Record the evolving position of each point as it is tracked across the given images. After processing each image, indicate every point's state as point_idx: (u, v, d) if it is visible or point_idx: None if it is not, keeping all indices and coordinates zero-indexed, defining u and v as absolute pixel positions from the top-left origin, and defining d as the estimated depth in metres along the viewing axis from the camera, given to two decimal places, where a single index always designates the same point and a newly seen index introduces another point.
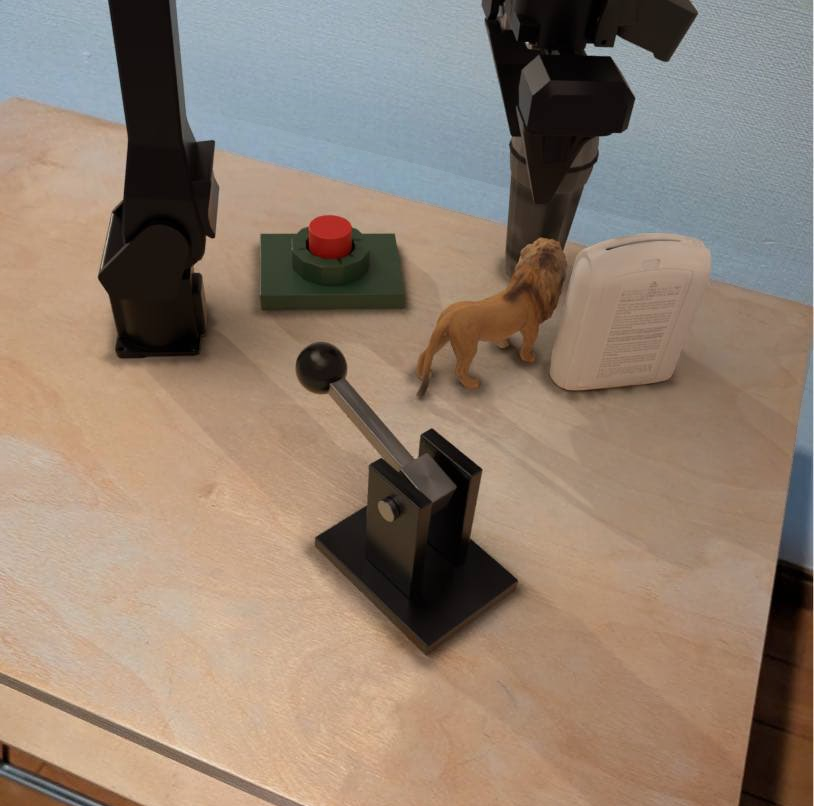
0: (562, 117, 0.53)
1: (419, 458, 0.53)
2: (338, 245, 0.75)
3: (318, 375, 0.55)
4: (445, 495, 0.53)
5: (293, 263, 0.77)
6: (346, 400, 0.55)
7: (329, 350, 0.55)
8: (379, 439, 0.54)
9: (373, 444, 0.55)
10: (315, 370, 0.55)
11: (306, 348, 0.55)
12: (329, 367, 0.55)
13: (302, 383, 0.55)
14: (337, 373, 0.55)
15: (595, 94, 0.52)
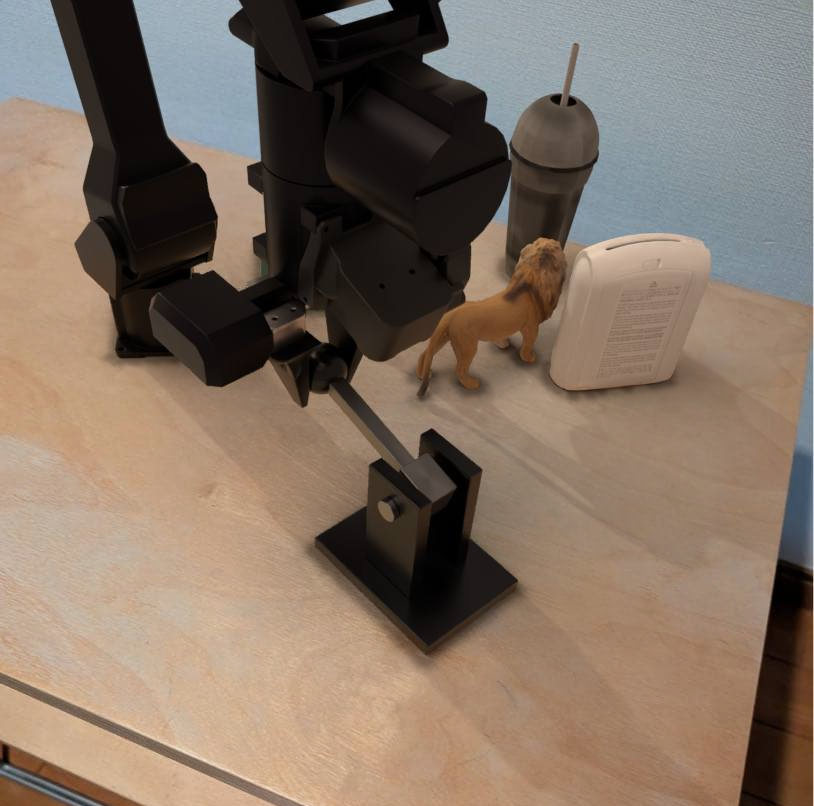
0: (164, 334, 0.47)
1: (419, 458, 0.53)
2: None
3: (318, 375, 0.55)
4: (445, 495, 0.53)
5: None
6: (346, 400, 0.55)
7: (329, 350, 0.55)
8: (379, 439, 0.54)
9: (373, 444, 0.55)
10: (315, 370, 0.55)
11: None
12: (329, 367, 0.55)
13: None
14: (337, 373, 0.55)
15: (180, 330, 0.46)
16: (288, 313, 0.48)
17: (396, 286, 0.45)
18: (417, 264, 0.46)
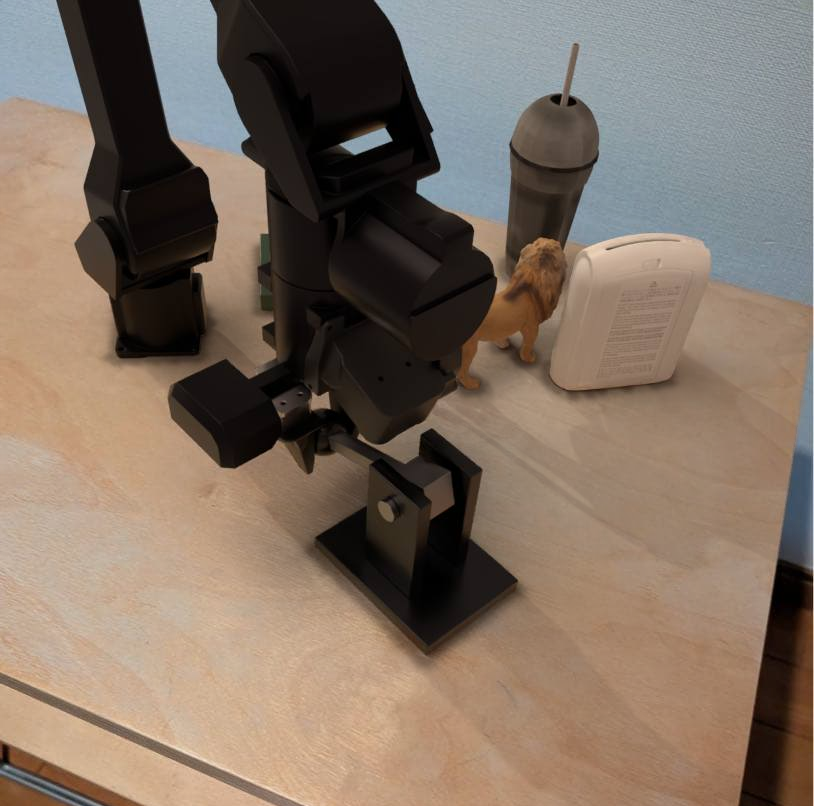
0: (181, 419, 0.52)
1: (411, 460, 0.54)
2: None
3: (315, 431, 0.59)
4: (440, 481, 0.52)
5: None
6: (343, 443, 0.58)
7: (322, 410, 0.59)
8: None
9: None
10: None
11: None
12: None
13: None
14: (332, 426, 0.59)
15: (197, 418, 0.50)
16: (295, 398, 0.53)
17: (393, 378, 0.50)
18: (412, 356, 0.51)
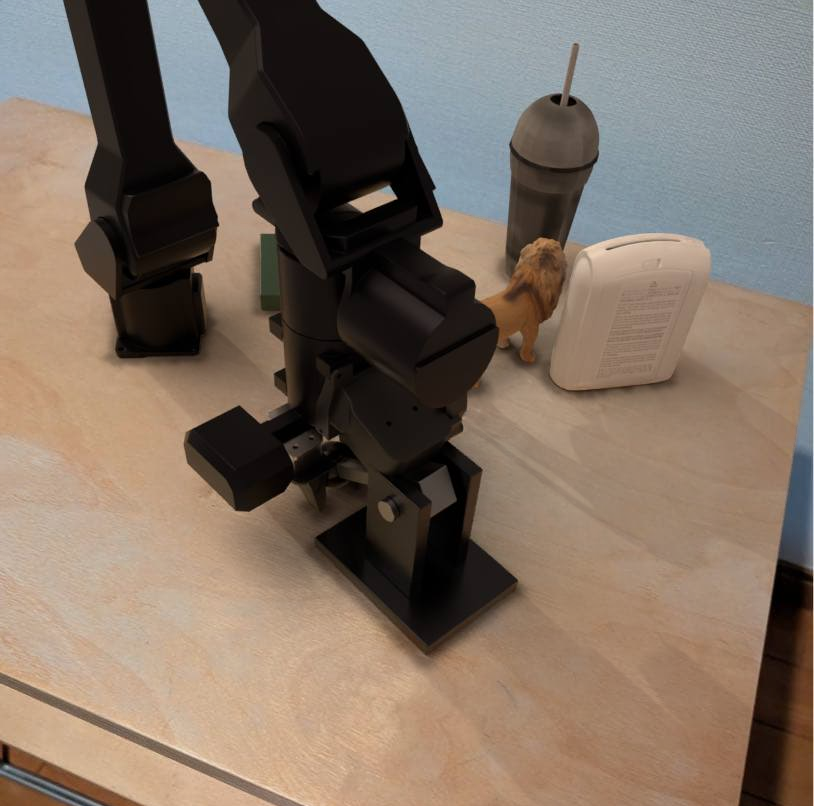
0: (197, 464, 0.54)
1: None
2: None
3: None
4: (436, 475, 0.52)
5: None
6: (349, 466, 0.59)
7: (328, 442, 0.61)
8: None
9: None
10: None
11: None
12: (329, 451, 0.60)
13: None
14: (338, 454, 0.60)
15: (212, 463, 0.52)
16: (307, 441, 0.54)
17: (401, 423, 0.51)
18: (419, 401, 0.52)
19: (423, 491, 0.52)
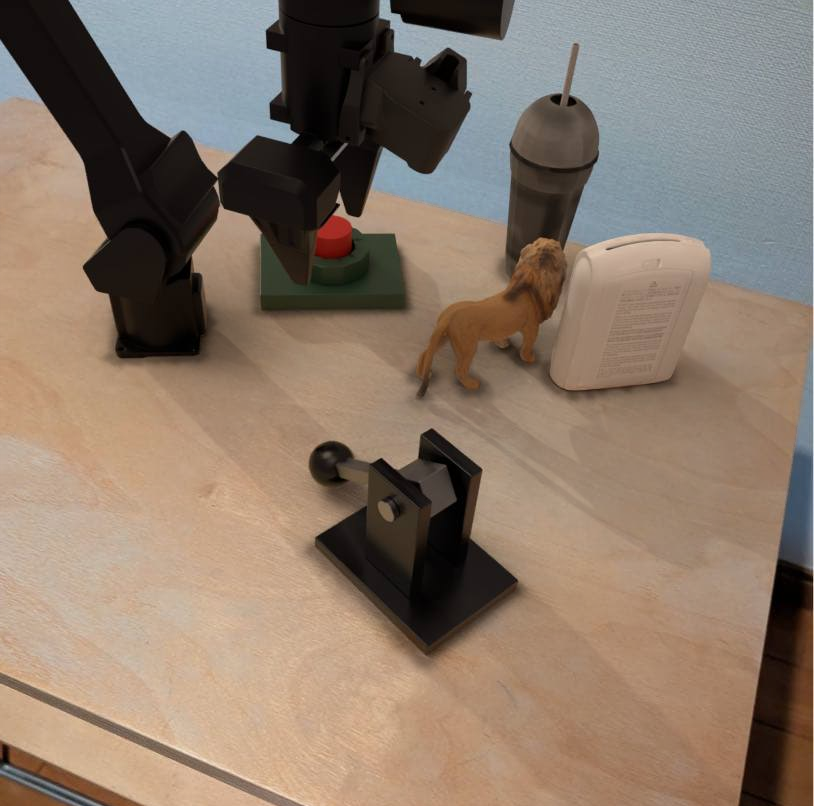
0: (243, 200, 0.52)
1: (409, 464, 0.54)
2: (338, 245, 0.75)
3: (322, 461, 0.60)
4: (436, 475, 0.52)
5: None
6: (348, 466, 0.59)
7: (328, 442, 0.61)
8: None
9: None
10: (319, 458, 0.60)
11: None
12: (329, 451, 0.60)
13: (317, 478, 0.61)
14: (338, 454, 0.60)
15: (270, 185, 0.50)
16: None
17: (431, 101, 0.53)
18: (433, 82, 0.54)
19: (423, 491, 0.52)
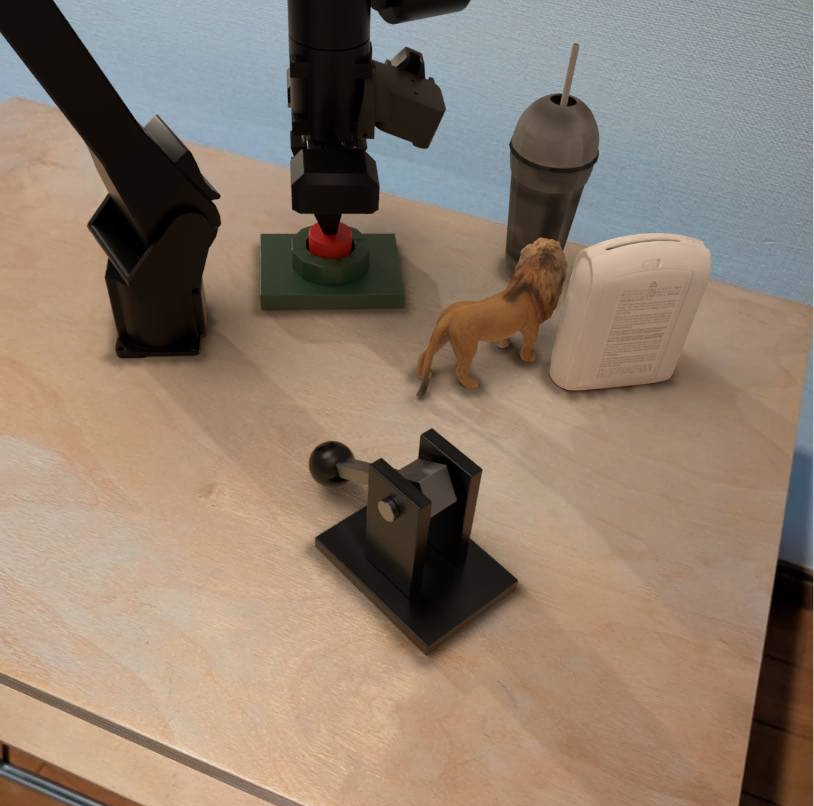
0: (318, 202, 0.63)
1: (409, 464, 0.54)
2: (338, 250, 0.75)
3: (322, 461, 0.60)
4: (436, 475, 0.52)
5: (293, 263, 0.77)
6: (348, 466, 0.59)
7: (328, 442, 0.61)
8: None
9: None
10: (319, 458, 0.60)
11: None
12: (329, 451, 0.60)
13: (317, 478, 0.61)
14: (338, 454, 0.60)
15: (342, 184, 0.63)
16: (355, 142, 0.68)
17: (419, 91, 0.67)
18: (409, 76, 0.68)
19: (423, 491, 0.52)
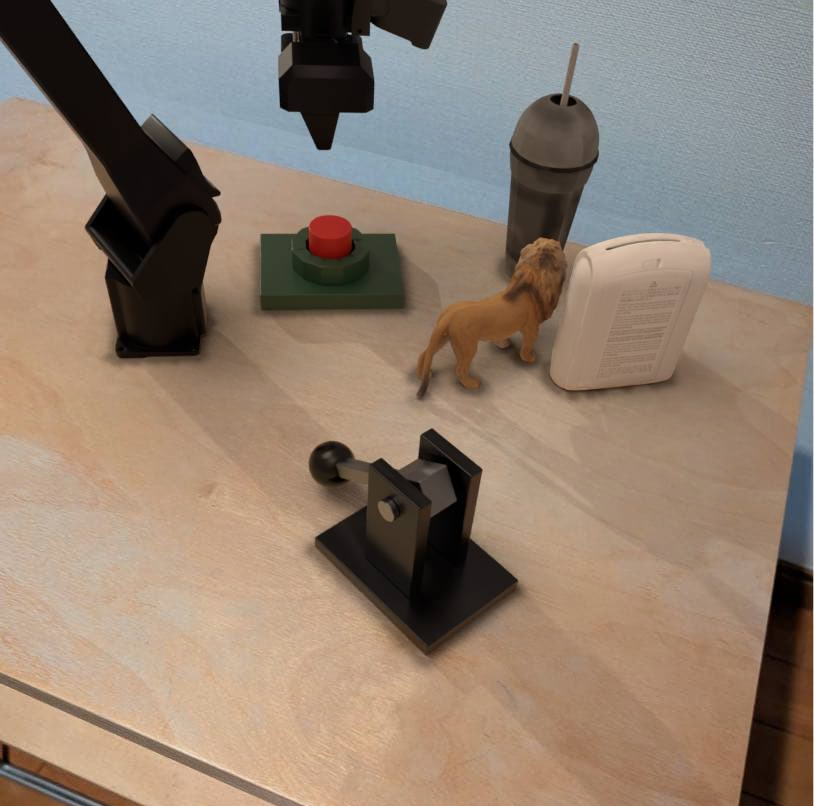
0: (308, 98, 0.59)
1: (409, 464, 0.54)
2: (338, 245, 0.75)
3: (322, 461, 0.60)
4: (436, 475, 0.52)
5: (293, 263, 0.77)
6: (348, 466, 0.59)
7: (328, 442, 0.61)
8: None
9: None
10: (319, 458, 0.60)
11: None
12: (329, 451, 0.60)
13: (317, 478, 0.61)
14: (338, 454, 0.60)
15: (334, 77, 0.58)
16: (349, 41, 0.63)
17: None
18: None
19: (423, 491, 0.52)
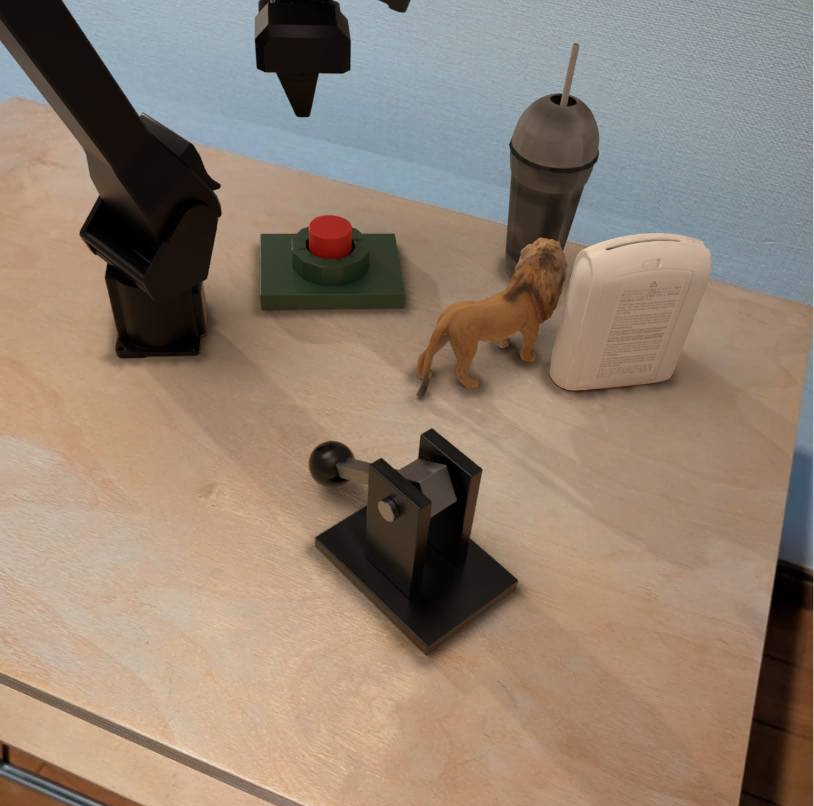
0: (284, 58, 0.59)
1: (409, 464, 0.54)
2: (338, 245, 0.75)
3: (322, 461, 0.60)
4: (436, 475, 0.52)
5: (293, 263, 0.77)
6: (348, 466, 0.59)
7: (328, 442, 0.61)
8: None
9: None
10: (319, 458, 0.60)
11: None
12: (329, 451, 0.60)
13: (317, 478, 0.61)
14: (338, 454, 0.60)
15: (310, 37, 0.58)
16: (326, 4, 0.63)
17: None
18: None
19: (423, 491, 0.52)
